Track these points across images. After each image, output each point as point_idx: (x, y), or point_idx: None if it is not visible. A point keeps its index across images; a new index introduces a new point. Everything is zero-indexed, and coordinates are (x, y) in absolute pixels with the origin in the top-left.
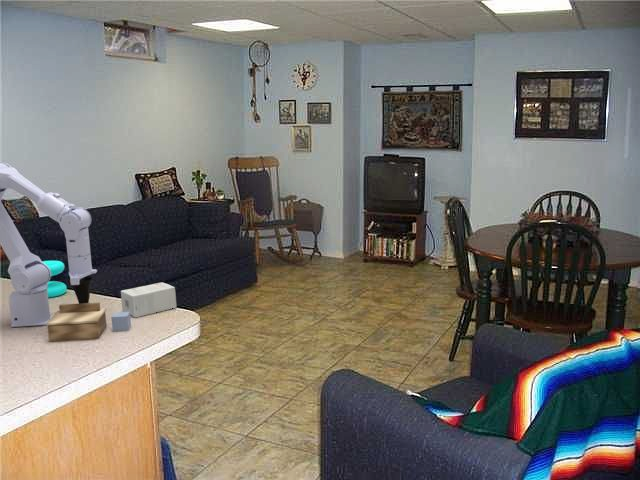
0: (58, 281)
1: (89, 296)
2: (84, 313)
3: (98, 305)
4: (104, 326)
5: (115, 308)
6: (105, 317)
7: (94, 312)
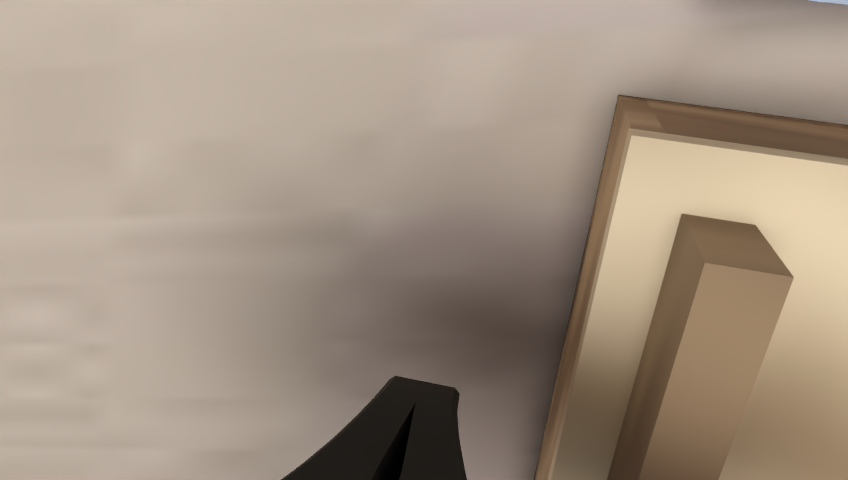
0: None
1: (363, 416)
2: (777, 408)
3: (781, 269)
4: (736, 115)
5: (20, 36)
6: (646, 120)
7: (801, 290)
